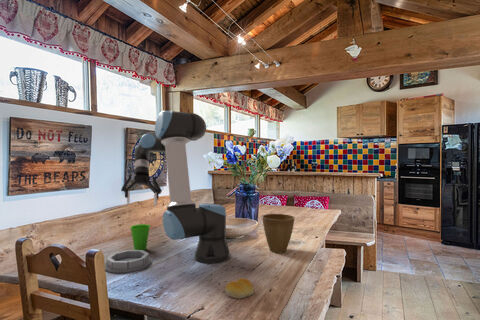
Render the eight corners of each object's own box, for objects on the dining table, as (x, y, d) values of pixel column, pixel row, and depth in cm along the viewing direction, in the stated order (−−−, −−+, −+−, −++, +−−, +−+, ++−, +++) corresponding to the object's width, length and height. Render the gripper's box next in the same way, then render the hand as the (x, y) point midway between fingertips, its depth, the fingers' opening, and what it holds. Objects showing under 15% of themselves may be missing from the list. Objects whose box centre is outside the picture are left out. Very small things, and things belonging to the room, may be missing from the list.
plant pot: (282, 258, 124) (282, 221, 124) (255, 251, 134) (255, 216, 134) (300, 250, 135) (300, 216, 135) (274, 244, 145) (274, 212, 145)
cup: (138, 254, 129) (138, 229, 129) (126, 250, 134) (126, 227, 134) (154, 248, 137) (154, 225, 137) (141, 245, 142) (141, 223, 142)
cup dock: (159, 264, 116) (159, 256, 116) (113, 277, 104) (113, 267, 104) (139, 254, 129) (139, 246, 129) (97, 264, 117) (97, 255, 117)
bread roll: (221, 291, 93) (221, 279, 93) (244, 285, 98) (244, 273, 98) (233, 302, 86) (233, 289, 86) (258, 295, 91) (258, 282, 91)
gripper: (162, 175, 167) (164, 208, 155) (116, 170, 154) (114, 206, 142) (166, 168, 162) (168, 201, 150) (118, 162, 149) (117, 198, 137)
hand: (142, 204), depth 146 cm, fingers open, 13 cm apart
